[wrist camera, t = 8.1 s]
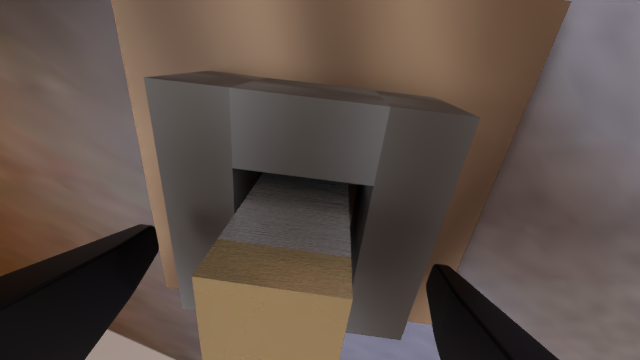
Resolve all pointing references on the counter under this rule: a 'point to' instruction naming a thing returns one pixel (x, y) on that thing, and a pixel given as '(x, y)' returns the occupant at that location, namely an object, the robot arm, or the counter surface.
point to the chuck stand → (333, 123)
